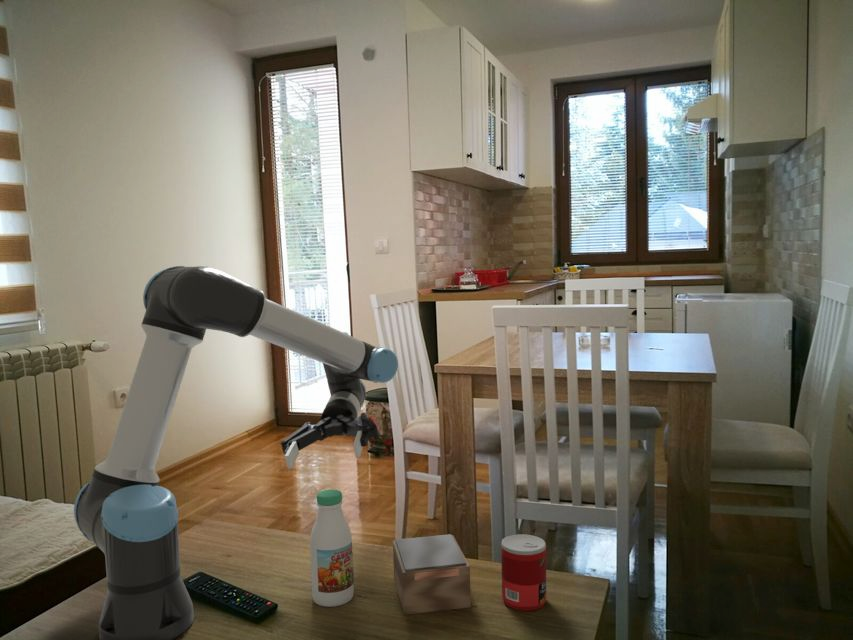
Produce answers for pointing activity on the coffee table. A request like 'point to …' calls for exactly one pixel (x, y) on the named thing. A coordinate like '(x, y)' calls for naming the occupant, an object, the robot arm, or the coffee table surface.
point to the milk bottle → (331, 552)
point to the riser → (431, 574)
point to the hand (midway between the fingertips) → (321, 456)
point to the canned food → (523, 572)
